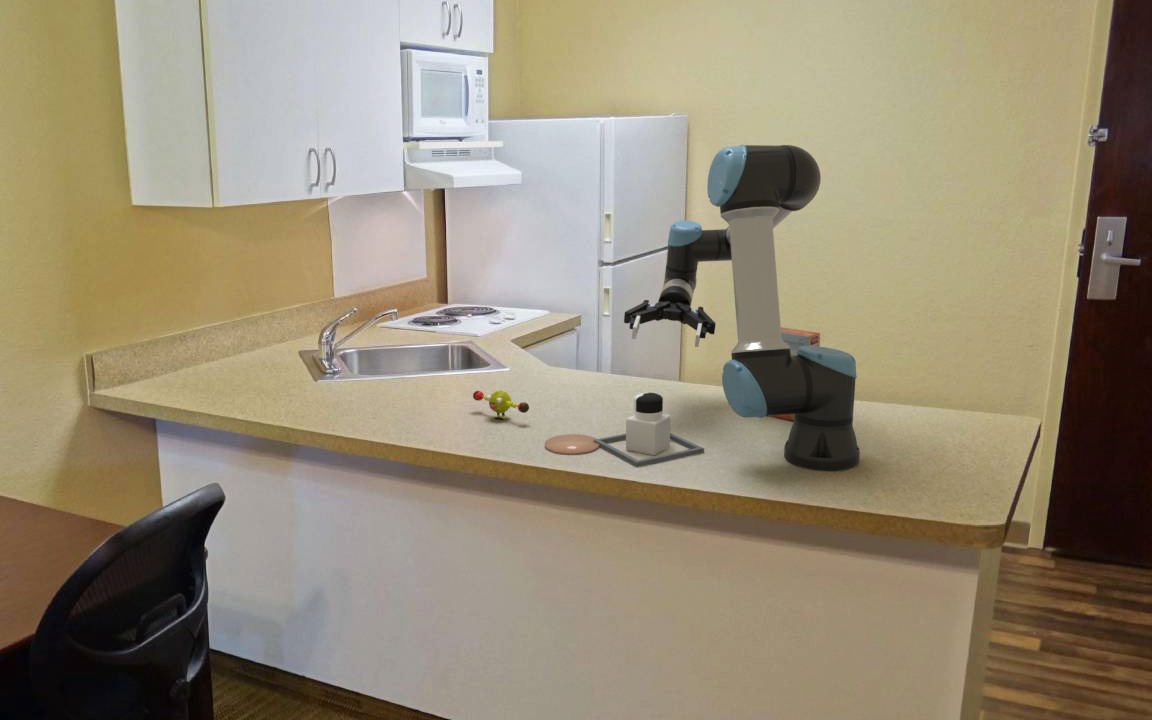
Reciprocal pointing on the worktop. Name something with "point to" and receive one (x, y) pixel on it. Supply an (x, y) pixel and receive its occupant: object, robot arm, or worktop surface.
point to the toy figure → (500, 402)
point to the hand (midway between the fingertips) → (665, 337)
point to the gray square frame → (692, 450)
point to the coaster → (571, 444)
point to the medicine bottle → (648, 425)
